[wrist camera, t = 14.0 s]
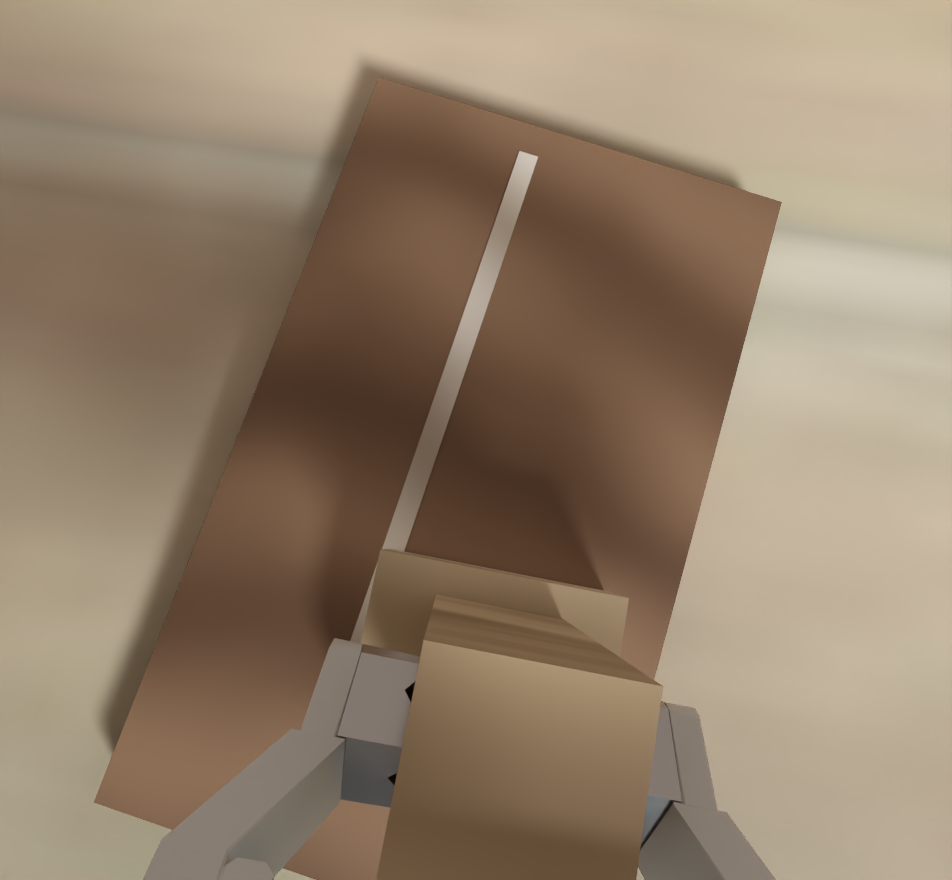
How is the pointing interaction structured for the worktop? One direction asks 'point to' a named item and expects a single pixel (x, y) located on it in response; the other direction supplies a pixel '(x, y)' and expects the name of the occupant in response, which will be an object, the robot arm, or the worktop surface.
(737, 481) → the worktop surface
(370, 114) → the walnut board
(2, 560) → the worktop surface
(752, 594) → the worktop surface
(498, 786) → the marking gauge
